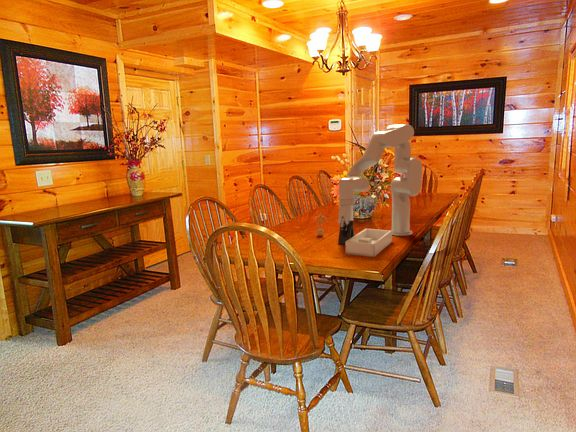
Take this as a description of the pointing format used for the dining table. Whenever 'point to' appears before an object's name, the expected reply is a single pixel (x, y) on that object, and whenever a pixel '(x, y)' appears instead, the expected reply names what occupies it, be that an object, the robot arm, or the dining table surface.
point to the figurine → (320, 231)
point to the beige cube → (365, 240)
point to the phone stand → (348, 235)
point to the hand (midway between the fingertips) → (346, 236)
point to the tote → (369, 249)
